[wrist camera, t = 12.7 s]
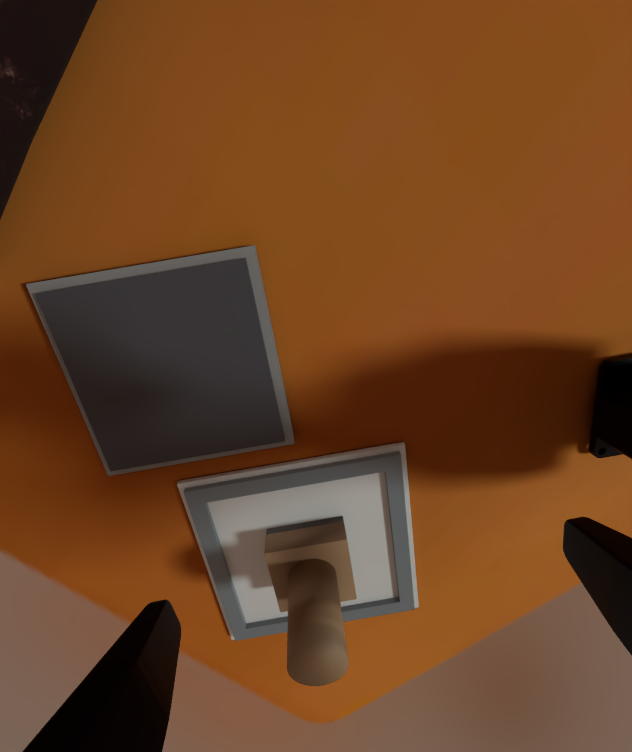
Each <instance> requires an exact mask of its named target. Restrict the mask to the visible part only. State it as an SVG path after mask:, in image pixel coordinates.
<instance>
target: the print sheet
mask: <svg viewBox="0 0 632 752" xmlns="http://www.w3.org/2000/svg"><path fill="white" fill-rule="evenodd" d="M177 486H178V489H179V492H180V494H181V497H182V500H183V503H184V506H185V509H186V511H187V514H188V517H189V520H190V523H191V526H192V528H193V531H194V534H195V537H196V540H197V542H198V545H199V548H200V551H201V554H202V557H203V559H204V562H205V565H206V568H207V571H208V574H209V576H210V579H211V582H212V585H213V588H214V591H215V593H216V596H217V599H218V602H219V605H220V607H221V610H222V613H223V616H224V619H225V622H226V624H227V627H228V630H229V633H230V636H231V639H232V640H234V639H235V641H237V640H243V639H249V638H255V637H260V636H266V635H272V634H277V633H283V632H288V611H286V612H280V609H279V606H278V602H277V598H276V595H275V591H274V587H273V584H272V580H271V576H270V573H269V569H268V565H267V562H266V558H265V554H264V552H265V541H266V530H267V529H269V528H275V527H280V526H286V525H292V524H298V523H303V522H309V521H315V520H321V519H327V518H332V517H338V516H343V520H344V525H345V531H346V536H347V542H348V548H349V554H350V560H351V566H352V572H353V578H354V584H355V590H356V597H357V599H355V600H349V601H343V602H340V604H341V611H342V619H343V622H346V621H351V620H357V619H363V618H368V617H374V616H380V615H385V614H391V613H397V612H402V611H408V610H414V609H415V608H416V607H419V606H418V594H417V582H416V570H415V558H414V546H413V534H412V522H411V510H410V498H409V486H408V474H407V462H406V450H405V443H404V442H400V443H394V444H388V445H382V446H377V447H371V448H365V449H359V450H354V451H348V452H342V453H336V454H330V455H325V456H319V457H313V458H307V459H302V460H296V461H290V462H284V463H278V464H273V465H267V466H261V467H255V468H250V469H244V470H238V471H232V472H226V473H221V474H215V475H209V476H203V477H198V478H192V479H186V480H180V481H178V482H177Z"/></svg>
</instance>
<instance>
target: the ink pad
mask: <svg viewBox="0 0 632 752" xmlns="http://www.w3.org/2000/svg"><path fill="white" fill-rule="evenodd" d="M26 286H27V289H28V291H29V293H30V296H31V298H32V300H33V302H34V305H35V307H36V309H37V312H38V314H39V316H40V319H41V321H42V323H43V326H44V328H45V330H46V333H47V335H48V337H49V340H50V342H51V344H52V347H53V349H54V351H55V354H56V356H57V358H58V361H59V363H60V365H61V368H62V370H63V372H64V375H65V377H66V379H67V382H68V384H69V386H70V389H71V391H72V393H73V396H74V398H75V400H76V402H77V405H78V407H79V409H80V412H81V414H82V416H83V419H84V421H85V423H86V426H87V428H88V430H89V433H90V435H91V437H92V440H93V442H94V444H95V447H96V449H97V451H98V454H99V456H100V458H101V461H102V463H103V465H104V468H105V470H106V472H107V475H108V476H112V475H118V474H124V473H129V472H135V471H141V470H147V469H153V468H158V467H164V466H170V465H176V464H182V463H187V462H193V461H199V460H205V459H210V458H216V457H222V456H228V455H234V454H239V453H245V452H251V451H257V450H262V449H268V448H274V447H280V446H286V445H291V444H295V437H294V432H293V427H292V423H291V418H290V413H289V408H288V403H287V398H286V393H285V388H284V384H283V379H282V374H281V369H280V364H279V359H278V354H277V349H276V345H275V340H274V335H273V330H272V325H271V320H270V315H269V310H268V306H267V301H266V296H265V291H264V286H263V281H262V276H261V271H260V267H259V262H258V257H257V252H256V247H255V245H253V246H247V247H242V248H236V249H230V250H224V251H218V252H212V253H206V254H200V255H194V256H188V257H183V258H177V259H171V260H165V261H159V262H153V263H147V264H141V265H135V266H130V267H124V268H118V269H112V270H106V271H100V272H94V273H88V274H82V275H77V276H71V277H65V278H59V279H53V280H47V281H41V282H35V283H29V284H26Z"/></svg>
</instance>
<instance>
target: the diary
mask: <svg viewBox="0 0 632 752" xmlns="http://www.w3.org/2000/svg"><path fill="white" fill-rule="evenodd" d="M96 2H97V0H0V219H1V216H2V214H3V211H4V209H5V207H6V204H7V202H8V199H9V197H10V194H11V192H12V189H13V187H14V184H15V182H16V180H17V177H18V175H19V172H20V170H21V167H22V165H23V162H24V160H25V157H26V155H27V152H28V150H29V147H30V145H31V142H32V140H33V138H34V136H35V134H36V131H37V129H38V127H39V125H40V123H41V121H42V119H43V117H44V114H45V112H46V110H47V108H48V106H49V104H50V101H51V99H52V97H53V95H54V93H55V91H56V88H57V86H58V84H59V82H60V80H61V78H62V75H63V73H64V71H65V69H66V67H67V65H68V62H69V60H70V58H71V56H72V54H73V52H74V50H75V47H76V45H77V43H78V41H79V39H80V37H81V34H82V32H83V30H84V28H85V26H86V24H87V21H88V19H89V17H90V15H91V13H92V11H93V8H94V6H95V4H96Z"/></svg>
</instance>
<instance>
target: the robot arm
mask: <svg viewBox="0 0 632 752" xmlns="http://www.w3.org/2000/svg"><path fill="white" fill-rule="evenodd" d="M611 366H612V368H611V369H610V367H611ZM609 369H610V370H609ZM589 450H590V453H591V454H592V455H594V456H595V457H597V458H604V457H610V456H616V455H622V454H624V455H626V456H627V457H629V458H631V459H632V355H630V356H624V357H618V358H612V359H608V360H605V361H604V362H602V364H601V365H600V368H599V375H598V383H597V391H596V399H595V407H594V416H593V424H592V432H591V440H590V448H589ZM563 551H564V554H565V556H566V558H567V560H568V562H569V563H570V565H571V566H572V568H573V569H574V571H575V573H576V574H577V576H578V577H579V579H580V580H581V582H582V583H583V585H584V587H585V588H586V590H587V591H588V593H589V594H590V596H591V597H592V599H593V600H594V602H595V604H596V605H597V607H598V608H599V610H600V611H601V613H602V614H603V616H604V618H605V619H606V620H607V622H608V624H609V625H610V627H611V628H612V629H613V631H614V632H615V634H616V635H617V637H618V638H619V639H620V641H621V642H622V643H623V645H624V646H625V647H626V649H627V650H628V651H629V652H630V654H631V655H632V538H630V537H628V536H626V535H624V534H622V533H620V532H618V531H616V530H613V529H611V528H609V527H607V526H605V525H603V524H601V523H598V522H596V521H594V520H592V519H590V518H587V517H579V518H574V519H569V520H567V521H566V522H565V524H564V536H563ZM180 639H181V626H180V622H179V620H178V618H177V616H176V614H175V611H174V609H173V607H172V605H171V603H170V602H169V601H168V600H160V601H155V602H151V603H149V604H148V605H147V606H146V607H145V608H144V609H143V610H142V611H141V613H140V614H139V615H138V616H137V617H136V618H135V620H134V621H133V622H132V623H131V624H130V626H129V627H128V628H127V629H126V630H125V631H124V633H123V634H122V635H121V636H120V637H119V639H118V640H117V641H116V642H115V643H114V644H113V646H112V647H111V648H110V649H109V650H108V651H107V653H106V654H105V655H104V656H103V657H102V659H101V660H100V661H99V662H98V663H97V664H96V666H95V667H94V668H93V669H92V670H91V672H90V673H89V674H88V675H87V676H86V677H85V679H84V680H83V681H82V682H81V683H80V685H79V686H78V687H77V688H76V689H75V690H74V692H73V693H72V694H71V695H70V696H69V697H68V699H67V700H66V701H65V702H64V703H63V705H62V706H61V707H60V708H59V709H58V710H57V712H56V713H55V714H54V715H53V716H52V717H51V719H50V720H49V721H48V722H47V723H46V725H45V726H44V727H43V728H42V729H41V730H40V732H39V733H38V734H37V735H36V736H35V738H34V739H33V740H32V741H31V742H30V743H29V745H28V746H27V747H26V748H25V749H24V750H23V752H162V749H163V745H164V740H165V736H166V731H167V726H168V721H169V716H170V710H171V703H172V696H173V689H174V682H175V675H176V667H177V660H178V653H179V646H180Z"/></svg>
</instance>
